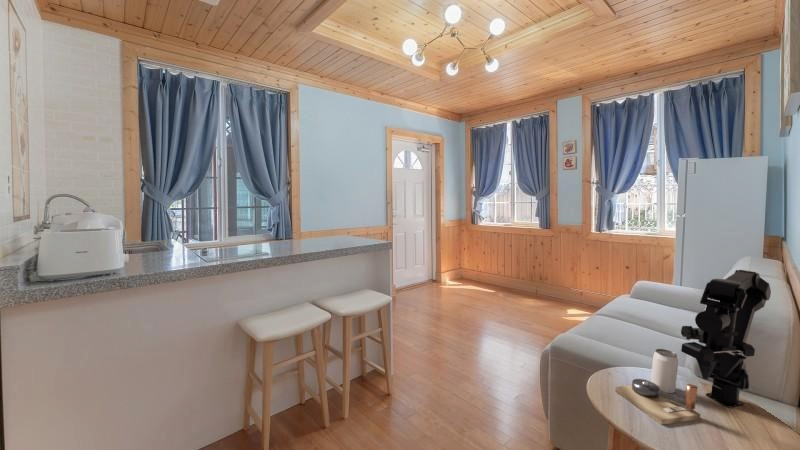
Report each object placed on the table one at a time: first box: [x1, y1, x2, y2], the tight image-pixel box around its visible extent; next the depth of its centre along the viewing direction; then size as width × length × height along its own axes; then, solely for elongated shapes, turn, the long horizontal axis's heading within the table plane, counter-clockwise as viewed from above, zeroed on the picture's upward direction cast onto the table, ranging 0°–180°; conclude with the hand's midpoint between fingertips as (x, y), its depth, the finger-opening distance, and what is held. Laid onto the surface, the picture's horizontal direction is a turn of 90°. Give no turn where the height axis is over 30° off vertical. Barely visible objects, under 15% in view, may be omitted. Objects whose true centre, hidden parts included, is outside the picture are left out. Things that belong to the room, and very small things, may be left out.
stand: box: [614, 384, 701, 425], centre depth 106 cm, size 13×16×2 cm
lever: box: [631, 378, 698, 410], centre depth 106 cm, size 16×7×7 cm, turn 37°
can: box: [650, 348, 679, 394], centre depth 114 cm, size 6×6×12 cm
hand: (714, 377), depth 101 cm, fingers open, 6 cm apart
